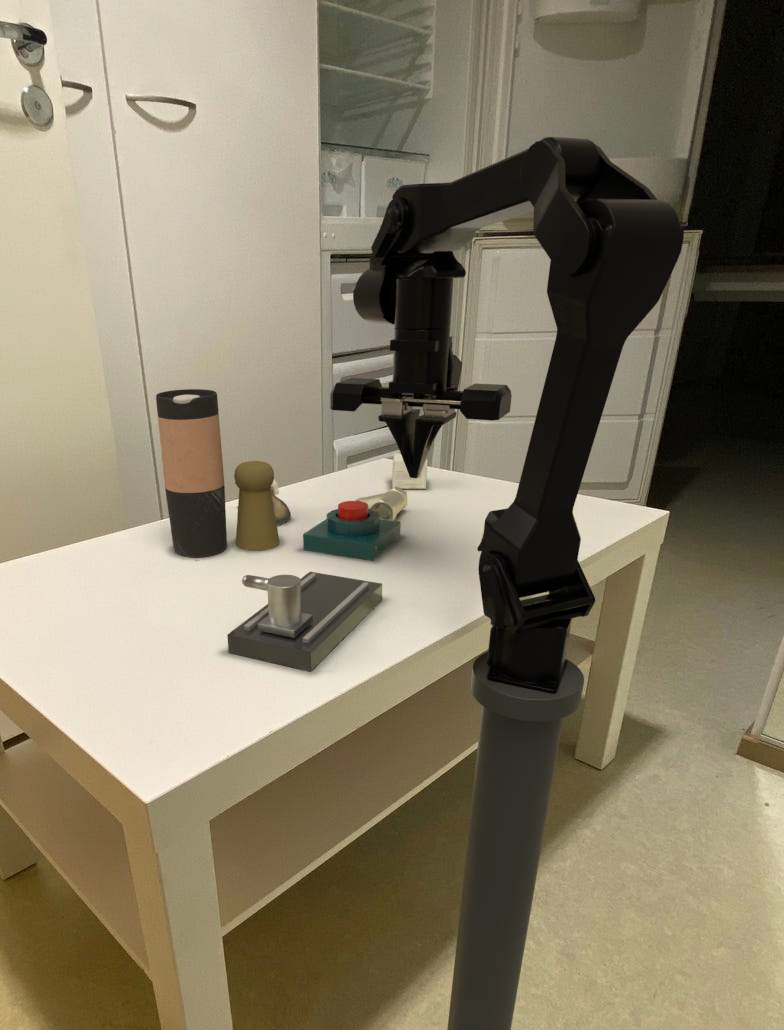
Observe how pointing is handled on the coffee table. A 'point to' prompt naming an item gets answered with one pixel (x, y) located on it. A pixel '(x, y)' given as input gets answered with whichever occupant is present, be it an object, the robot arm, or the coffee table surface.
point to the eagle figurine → (278, 505)
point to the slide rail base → (333, 619)
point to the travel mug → (193, 470)
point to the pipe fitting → (387, 503)
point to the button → (353, 510)
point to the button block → (352, 536)
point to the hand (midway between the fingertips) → (414, 477)
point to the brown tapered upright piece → (255, 507)
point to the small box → (407, 475)
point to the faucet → (281, 604)
